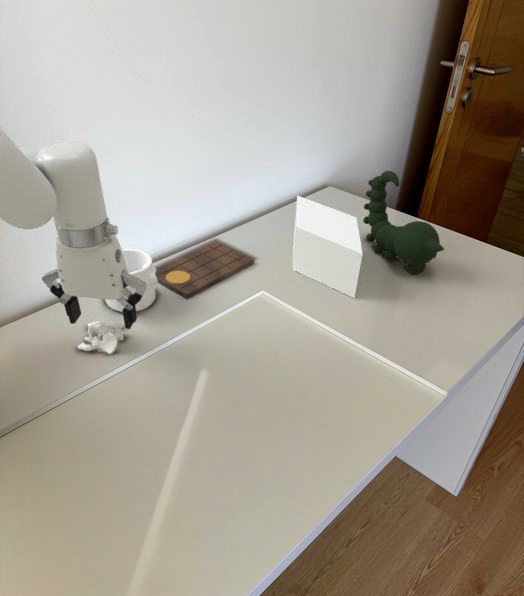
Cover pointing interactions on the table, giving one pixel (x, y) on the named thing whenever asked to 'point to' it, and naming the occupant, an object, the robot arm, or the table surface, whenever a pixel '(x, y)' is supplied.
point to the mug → (144, 270)
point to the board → (201, 269)
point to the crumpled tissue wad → (109, 337)
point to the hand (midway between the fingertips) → (103, 321)
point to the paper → (327, 246)
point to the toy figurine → (398, 230)
